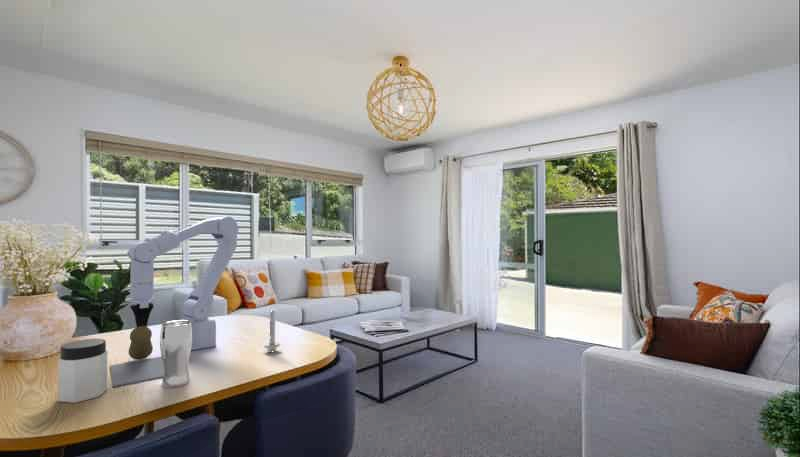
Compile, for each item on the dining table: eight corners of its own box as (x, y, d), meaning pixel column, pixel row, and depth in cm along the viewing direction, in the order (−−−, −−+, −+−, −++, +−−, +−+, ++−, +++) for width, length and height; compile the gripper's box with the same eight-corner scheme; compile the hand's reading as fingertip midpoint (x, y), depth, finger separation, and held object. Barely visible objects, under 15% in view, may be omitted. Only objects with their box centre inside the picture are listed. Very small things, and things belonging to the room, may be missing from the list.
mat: (172, 356, 117) (172, 354, 117) (182, 373, 102) (182, 372, 102) (110, 366, 107) (110, 365, 107) (112, 387, 93) (112, 386, 93)
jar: (102, 384, 95) (102, 336, 95) (111, 393, 90) (112, 342, 90) (54, 396, 88) (54, 344, 88) (61, 407, 83) (61, 351, 83)
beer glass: (168, 391, 91) (169, 327, 92) (153, 384, 95) (154, 324, 95) (197, 381, 97) (197, 322, 97) (182, 375, 101) (182, 318, 101)
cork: (140, 363, 113) (140, 346, 106) (123, 352, 113) (122, 334, 106) (157, 347, 117) (158, 330, 110) (141, 337, 117) (141, 318, 110)
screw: (261, 353, 119) (267, 349, 124) (276, 354, 119) (282, 349, 124) (261, 311, 119) (267, 308, 124) (277, 312, 119) (282, 308, 124)
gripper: (124, 281, 117) (123, 325, 117) (127, 286, 106) (126, 336, 106) (151, 279, 122) (151, 322, 122) (157, 284, 110) (156, 332, 110)
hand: (141, 328), depth 114 cm, fingers closed
